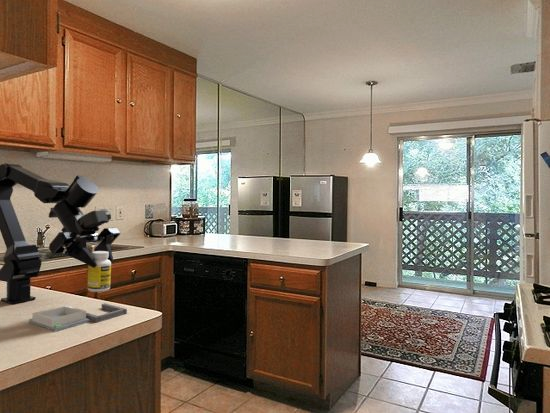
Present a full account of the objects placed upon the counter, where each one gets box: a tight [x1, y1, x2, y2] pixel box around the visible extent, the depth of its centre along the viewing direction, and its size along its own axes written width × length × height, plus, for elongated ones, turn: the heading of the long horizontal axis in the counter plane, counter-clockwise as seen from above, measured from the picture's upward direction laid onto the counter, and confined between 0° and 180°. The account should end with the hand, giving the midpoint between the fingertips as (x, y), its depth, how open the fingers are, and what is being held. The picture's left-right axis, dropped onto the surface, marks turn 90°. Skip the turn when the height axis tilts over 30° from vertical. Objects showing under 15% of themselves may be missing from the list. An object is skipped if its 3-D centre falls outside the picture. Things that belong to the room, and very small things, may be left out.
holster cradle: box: [86, 303, 128, 323], centre depth 102 cm, size 9×9×1 cm
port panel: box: [28, 304, 90, 332], centre depth 95 cm, size 11×8×2 cm
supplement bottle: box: [87, 251, 112, 293], centre depth 101 cm, size 5×5×10 cm
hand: (104, 264), depth 101 cm, fingers closed on supplement bottle, 5 cm apart
